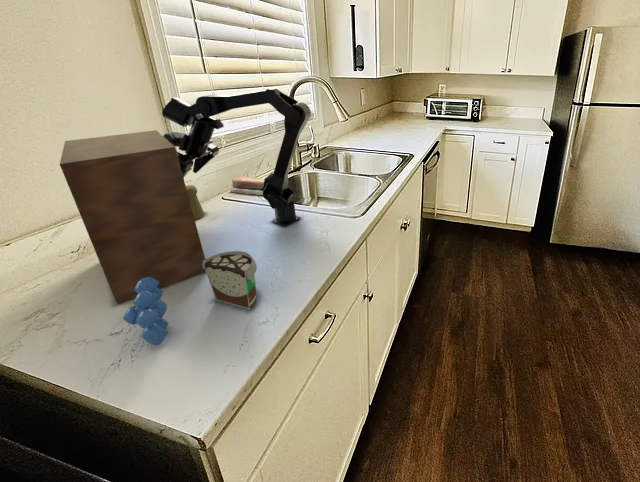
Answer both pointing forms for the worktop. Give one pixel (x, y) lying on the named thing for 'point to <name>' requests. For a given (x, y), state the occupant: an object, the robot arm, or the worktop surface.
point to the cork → (194, 202)
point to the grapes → (148, 311)
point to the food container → (232, 278)
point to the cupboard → (134, 209)
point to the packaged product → (248, 185)
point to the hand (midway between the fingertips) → (186, 177)
